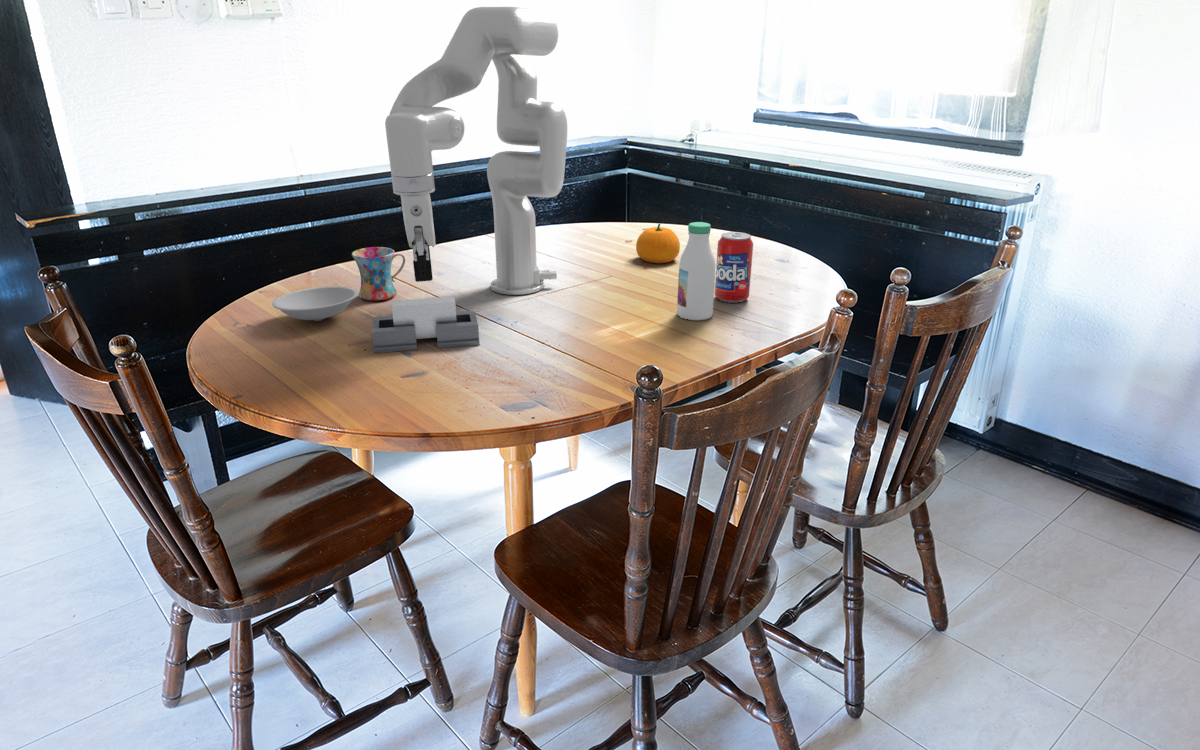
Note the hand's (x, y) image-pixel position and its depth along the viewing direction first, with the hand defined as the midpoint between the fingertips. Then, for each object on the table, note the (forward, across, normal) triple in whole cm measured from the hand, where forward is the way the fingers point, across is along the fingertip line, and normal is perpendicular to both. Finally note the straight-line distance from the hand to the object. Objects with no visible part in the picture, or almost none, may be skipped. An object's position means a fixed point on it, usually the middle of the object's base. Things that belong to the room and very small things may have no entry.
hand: (423, 272), depth 153 cm
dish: (+14, +16, +23) cm, 31 cm away
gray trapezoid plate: (+12, -1, +1) cm, 13 cm away
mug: (+15, +30, +10) cm, 35 cm away
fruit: (+17, +47, -61) cm, 79 cm away
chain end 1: (+13, -1, +7) cm, 15 cm away
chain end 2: (+14, -1, -5) cm, 15 cm away
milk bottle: (+15, +2, -56) cm, 58 cm away
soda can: (+16, +11, -68) cm, 71 cm away
